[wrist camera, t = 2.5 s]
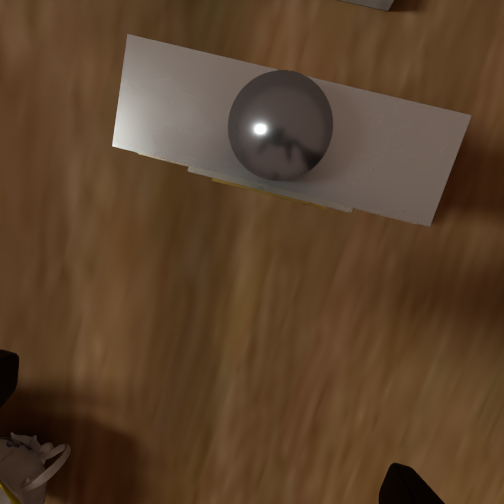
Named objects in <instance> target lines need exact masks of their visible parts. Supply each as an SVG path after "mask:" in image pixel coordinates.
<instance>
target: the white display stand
mask: <svg viewBox="0 0 504 504" xmlns="http://www.w3.org/2000/svg"><path fill="white" fill-rule="evenodd" d="M471 116H472V115H468V114H464V113H459V112H455V111H451V110H447V109H443V108H438V107H434V106H430V105H426V104H421V103H417V102H413V101H409V100H404V99H400V98H396V97H392V96H388V95H383V94H379V93H375V92H371V91H366V90H362V89H358V88H354V87H349V86H345V85H341V84H337V83H332V82H328V81H324V80H320V79H316V78H311V77H307V76H304V75H302V74H300V73H297V72H294V71H288V70H277V69H273V68H269V67H265V66H260V65H256V64H252V63H248V62H244V61H239V60H235V59H231V58H227V57H222V56H218V55H214V54H210V53H205V52H201V51H197V50H193V49H188V48H184V47H180V46H176V45H172V44H167V43H163V42H159V41H155V40H150V39H146V38H142V37H138V36H133V35H129V34H128V35H127V43H126V50H125V57H124V64H123V72H122V79H121V86H120V93H119V101H118V108H117V115H116V122H115V130H114V137H113V144H112V146H114V147H118V148H122V149H126V150H130V151H134V152H138V154H141V155H144V156H148V157H152V158H156V159H160V160H164V161H168V162H172V163H176V164H180V165H184V166H188V167H189V168H188V171H189V172H192V173H196V174H200V175H204V176H208V177H212V181H216V182H220V183H224V184H228V185H232V186H235V187H239V188H243V189H247V190H251V191H255V192H259V193H263V194H267V195H271V196H275V197H279V198H282V199H286V200H290V201H294V202H298V203H302V204H306V205H310V206H314V207H318V208H322V209H327V207H330V208H334V209H338V210H342V211H345V212H349V213H351V212H352V209H357V210H361V211H365V212H369V213H373V214H377V215H381V216H385V217H389V218H392V219H396V220H400V221H404V222H408V223H412V224H421V225H425V226H429V227H430V225H431V222H432V220H433V217H434V214H435V212H436V209H437V206H438V204H439V201H440V198H441V196H442V193H443V190H444V188H445V185H446V182H447V180H448V177H449V174H450V172H451V169H452V166H453V164H454V161H455V158H456V156H457V153H458V150H459V148H460V145H461V142H462V140H463V137H464V134H465V132H466V129H467V126H468V124H469V121H470V118H471Z"/></svg>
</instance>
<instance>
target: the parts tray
mask: <svg viewBox="0 0 504 504" xmlns="http://www.w3.org/2000/svg"><path fill="white" fill-rule="evenodd" d="M340 1H345V2H349V3H354V4H358V5H363V6H367V7H372V8H376V9H381V10H385V11H388V10H389V8H390V6H391V5H392V3H393V1H394V0H340Z"/></svg>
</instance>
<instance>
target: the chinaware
mask: <svg viewBox="0 0 504 504" xmlns="http://www.w3.org/2000/svg"><path fill="white" fill-rule="evenodd" d="M10 434H11V438H7V437H0V504H44V502H45V498H46V491H47V481H48V480H49V479H50V478H51V477H52V476H53V475H54V474H55V473H56V472H57V471H58V470H59V469H60V468H61V467H62V465H63V464H64V463H65V461H66V460H67V458H68V457H69V455H70V452H71V448H70V446H69V445H68V444H65V443H64V444H60V445H58V446H57V447H55V448H53V447H54V446H53V445H52V443H45V444H43V445H42V446H41V445H40V444H39V442H38V441H37V436H36V435H34V436H33V437H29V436H24V435H15V434H14V433H12V432H11V433H10ZM62 451H63V453H62V454H61V455H60V457H59V458H58V459H57V460H56V461H55V462H54V463H52V464H51V465H50V466H49V467H48V468H47V469H46V470H45V468H44V463H45V461H46V460H47V459H50V458H52V457H53V456H55V455H56V454H58V453H60V452H62Z"/></svg>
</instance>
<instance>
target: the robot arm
mask: <svg viewBox="0 0 504 504" xmlns="http://www.w3.org/2000/svg"><path fill="white" fill-rule="evenodd" d="M18 369H19V356H18V355H17V354H16V353H13V352H10V351H6V350H1V349H0V408H1V406H2V405H3V404H4V403H5V402H6V401H7V399H8V398H9V397H10V396H11V395H12V393H13V392H14V390H15V388H16V386H17V381H18ZM379 504H445V503H444V502H443V501H442V500H441V499H440V498H439V497H438V496H437V494H436V493H435V492H434V491H433V490H432V489H431V488H430V487H429V486H428V485H427V484H426V482H425V481H424V480H423V479H422V478H421V477H420V476H419V475H418V474H417V473H416V471H415V470H414V469H413V468H411V467H409V466H406V465H402V464H399V463H392V464H391V465H390V467H389V469H388V472H387V474H386V476H385V479H384V481H383V484H382V486H381V488H380V492H379Z"/></svg>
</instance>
